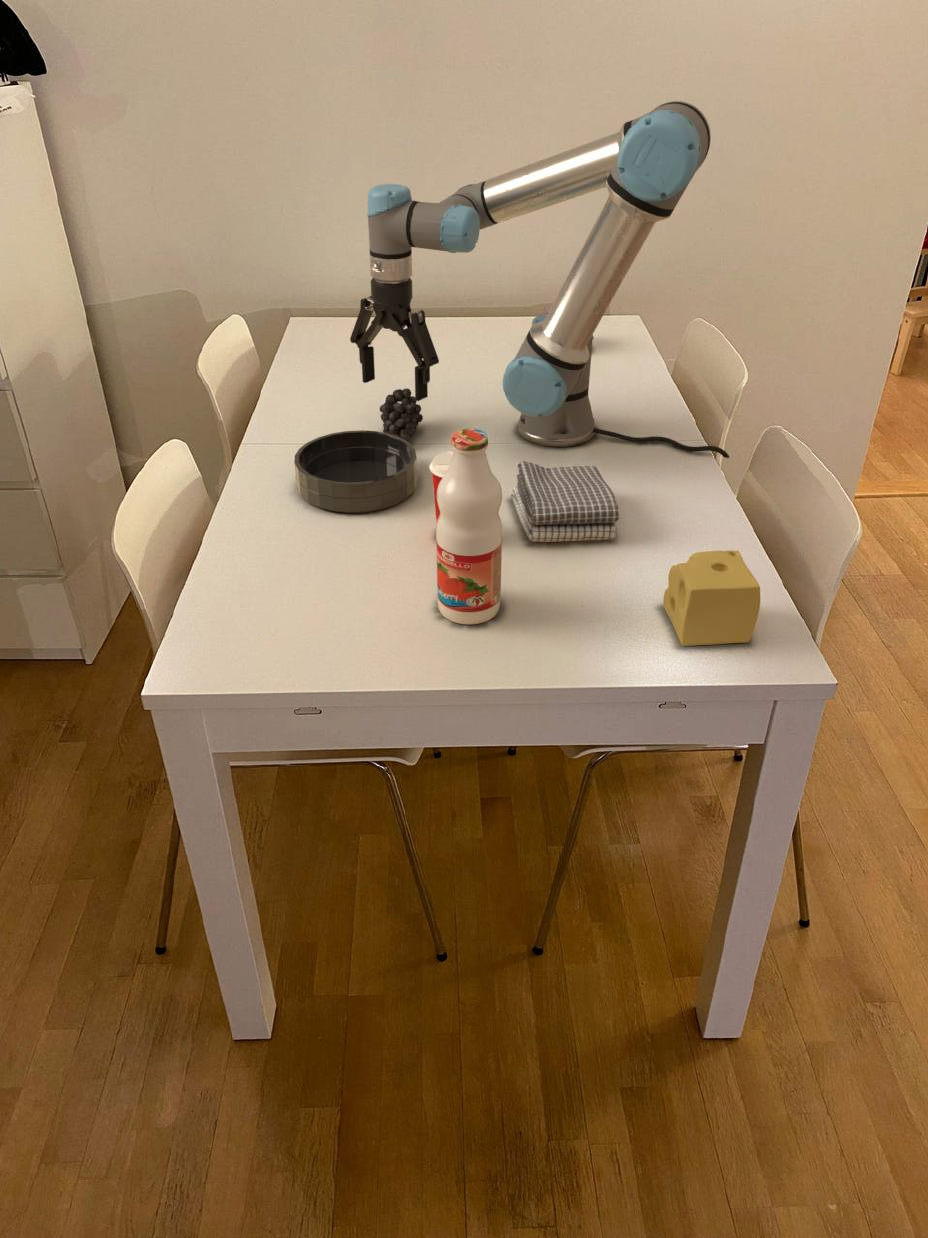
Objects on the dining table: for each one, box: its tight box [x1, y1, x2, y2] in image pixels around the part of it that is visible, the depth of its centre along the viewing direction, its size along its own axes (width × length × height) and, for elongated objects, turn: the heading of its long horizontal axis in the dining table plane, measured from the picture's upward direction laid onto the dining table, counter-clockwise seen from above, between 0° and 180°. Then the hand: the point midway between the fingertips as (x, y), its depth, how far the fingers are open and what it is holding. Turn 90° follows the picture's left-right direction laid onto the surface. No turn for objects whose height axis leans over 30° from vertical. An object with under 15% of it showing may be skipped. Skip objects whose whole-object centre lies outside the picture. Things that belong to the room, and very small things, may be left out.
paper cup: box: [428, 450, 454, 524], centre depth 162 cm, size 8×8×14 cm
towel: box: [510, 460, 620, 543], centre depth 168 cm, size 15×18×8 cm
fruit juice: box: [435, 428, 503, 625], centre depth 141 cm, size 9×9×28 cm
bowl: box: [294, 429, 418, 514], centre depth 179 cm, size 22×22×6 cm
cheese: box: [662, 550, 761, 647], centre depth 142 cm, size 10×11×10 cm
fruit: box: [379, 387, 424, 442], centre depth 195 cm, size 9×8×15 cm
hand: (394, 389), depth 192 cm, fingers open, 13 cm apart
